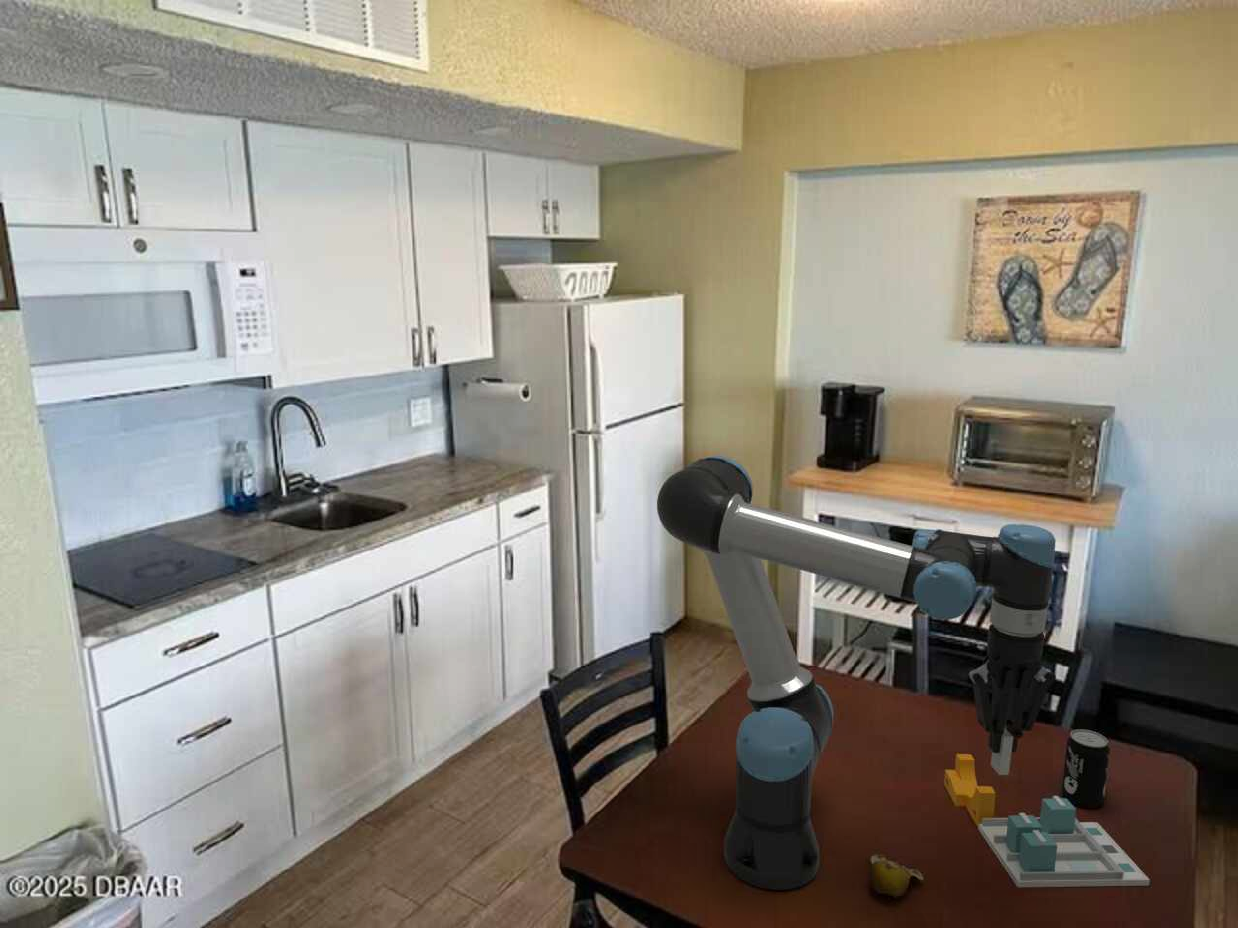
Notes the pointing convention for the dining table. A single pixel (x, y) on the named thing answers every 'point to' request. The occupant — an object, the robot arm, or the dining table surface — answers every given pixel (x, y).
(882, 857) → the fruit
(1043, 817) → the tab far
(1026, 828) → the tab mid
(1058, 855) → the switch board
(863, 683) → the dining table surface
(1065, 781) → the beverage can
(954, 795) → the pipe clamp
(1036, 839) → the tab near
